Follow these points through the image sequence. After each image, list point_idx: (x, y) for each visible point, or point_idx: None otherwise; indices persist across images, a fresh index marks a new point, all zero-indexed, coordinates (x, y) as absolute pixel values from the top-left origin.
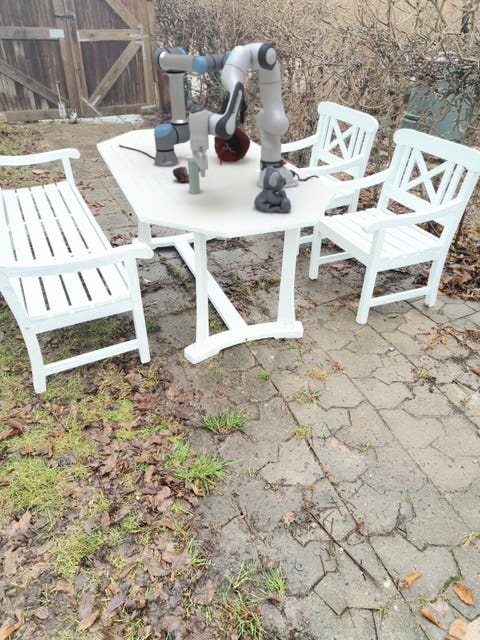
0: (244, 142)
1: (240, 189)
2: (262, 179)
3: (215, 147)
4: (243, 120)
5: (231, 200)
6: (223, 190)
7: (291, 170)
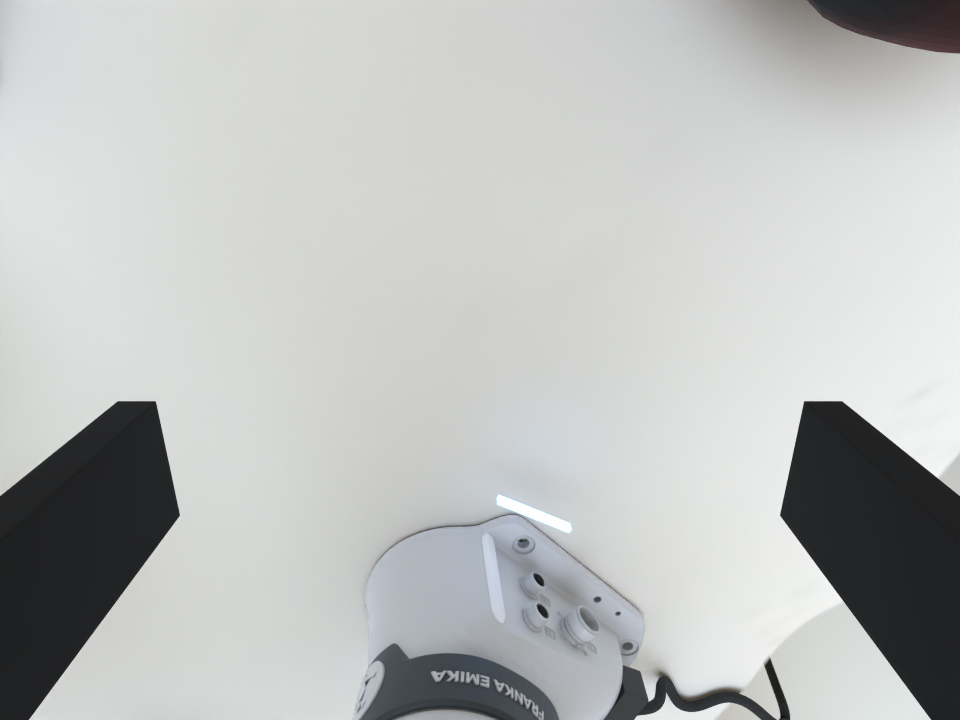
0: None
1: (223, 525)
2: (369, 634)
3: None
4: (821, 566)
5: None
6: None
7: (634, 711)
